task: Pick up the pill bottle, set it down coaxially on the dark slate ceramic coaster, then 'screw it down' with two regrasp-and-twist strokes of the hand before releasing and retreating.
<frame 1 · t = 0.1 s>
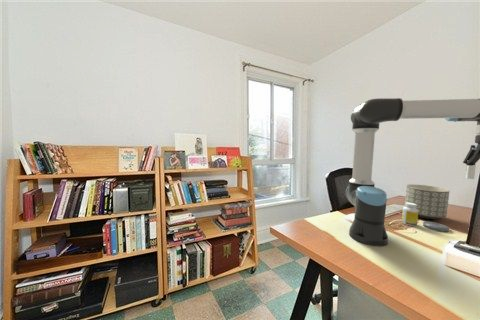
pill bottle: (409, 224, 110), on the table
coaster: (435, 227, 105), on the table
planter: (423, 216, 122), on the table
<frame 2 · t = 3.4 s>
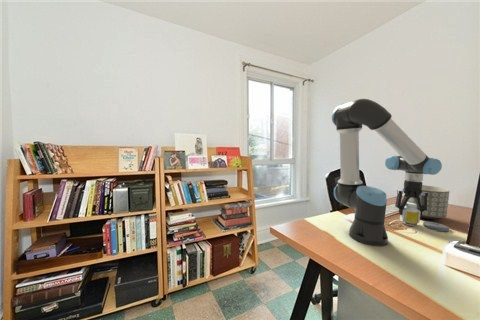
hand: (409, 221, 110), 1 cm above the table, fingers closed on pill bottle, 6 cm apart
pill bottle: (409, 224, 110), on the table, touching gripper
everything else where it was.
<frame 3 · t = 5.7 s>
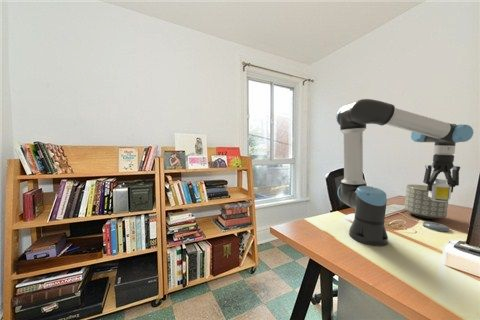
hand: (438, 197, 104), 16 cm above the table, fingers closed on pill bottle, 6 cm apart
pill bottle: (438, 200, 104), point 15 cm above the table, touching gripper
everything else where it was.
when the fingers open (4 cm above the table, at t = 8.2 s): pill bottle stays where it is, resting on coaster.
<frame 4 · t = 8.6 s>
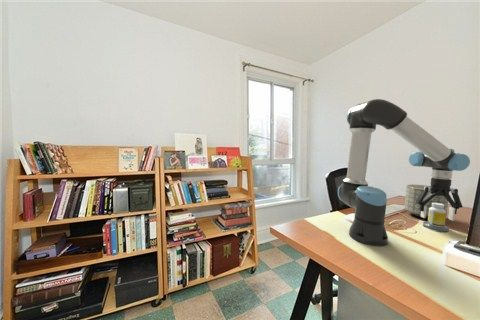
hand: (436, 218, 105), 5 cm above the table, fingers open, 11 cm apart
pill bottle: (435, 225, 105), point 1 cm above the table, touching coaster
everything else where it was.
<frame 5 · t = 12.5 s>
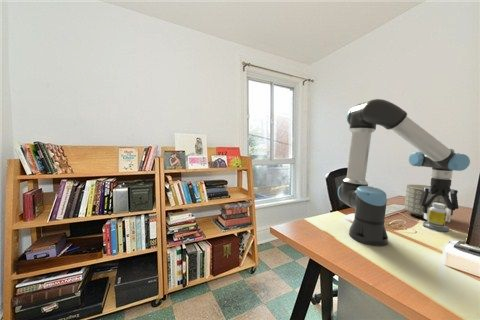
hand: (436, 220, 105), 4 cm above the table, fingers open, 8 cm apart
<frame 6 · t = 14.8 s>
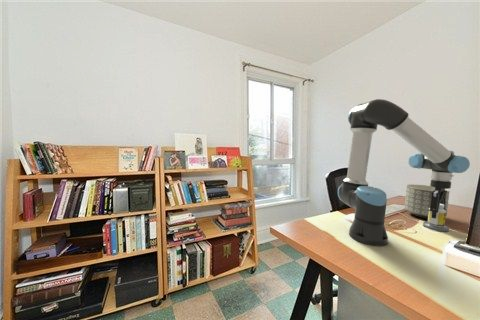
hand: (436, 222, 105), 3 cm above the table, fingers closed on pill bottle, 6 cm apart
pill bottle: (435, 225, 105), point 1 cm above the table, touching coaster, gripper
everything else where it was.
when the fingers open (4 cm above the table, at t = 16.1 s): pill bottle stays where it is, resting on coaster.
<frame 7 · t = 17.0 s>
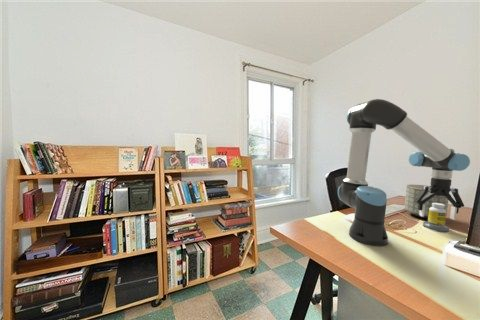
hand: (436, 217, 104), 6 cm above the table, fingers open, 13 cm apart
pill bottle: (435, 225, 105), point 1 cm above the table, touching coaster
everything else where it was.
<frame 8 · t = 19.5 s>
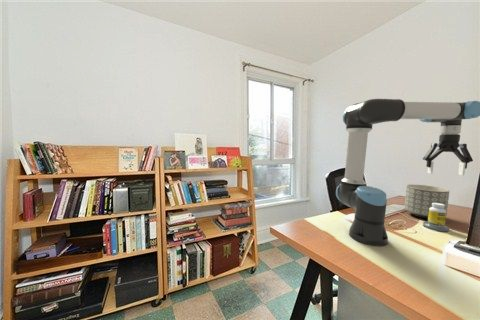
hand: (445, 174, 105), 29 cm above the table, fingers open, 13 cm apart
nothing on the table moved.
at the end: pill bottle 0.1 cm from the coaster (horizontally); pill bottle tilted 0°; the gripper is holding nothing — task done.
